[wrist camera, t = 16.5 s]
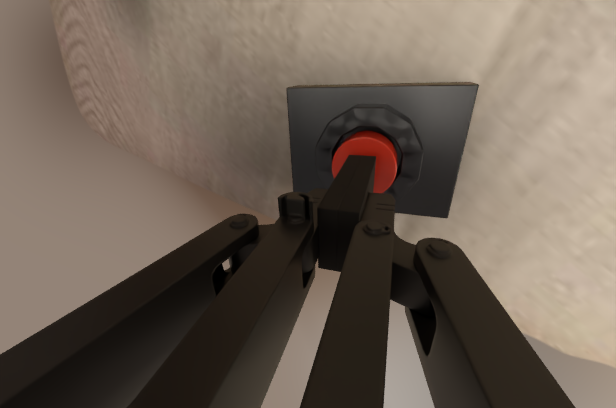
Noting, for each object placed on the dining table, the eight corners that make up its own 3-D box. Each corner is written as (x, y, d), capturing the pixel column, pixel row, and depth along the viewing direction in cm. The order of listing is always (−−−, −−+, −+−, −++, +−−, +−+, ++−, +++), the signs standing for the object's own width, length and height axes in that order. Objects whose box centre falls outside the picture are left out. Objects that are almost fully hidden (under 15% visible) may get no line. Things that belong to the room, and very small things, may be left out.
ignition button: (336, 185, 20) (331, 195, 18) (337, 129, 18) (331, 135, 16) (393, 190, 18) (393, 201, 17) (400, 131, 17) (401, 138, 15)
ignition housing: (301, 191, 25) (286, 211, 21) (296, 85, 21) (276, 89, 17) (443, 205, 21) (451, 231, 18) (471, 82, 17) (487, 86, 14)
